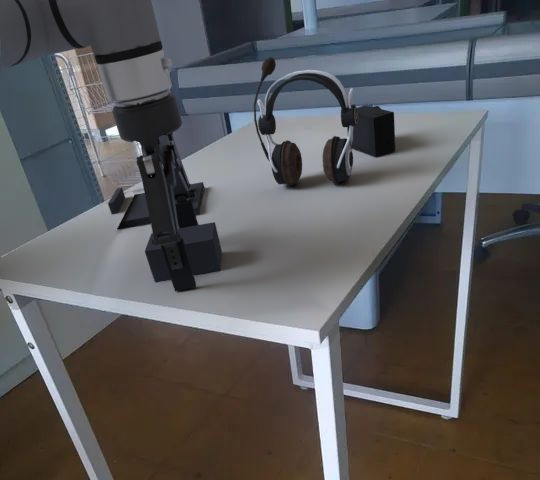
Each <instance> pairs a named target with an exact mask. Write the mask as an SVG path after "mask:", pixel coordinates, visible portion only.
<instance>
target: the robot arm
mask: <svg viewBox="0 0 540 480" xmlns="http://www.w3.org/2000/svg"><path fill="white" fill-rule="evenodd" d="M152 2H153V1H152V0H0V71H2V70H4V69H6V68H11V67H14V66H17V65H21V64H24V63H27V62H31V61H34V60H36V59H39V58H42V57H47V56H52V55H56V54H60V53H65V52H69V51H73V50H77V49H84V48H85V49H86V48H88V47H90V48H91V52H92V54H93V56H94V59H95V63H96V67H97V69H98V70H97V71H98V74H99V76H100V79H101V82H102V87H103V89H104V92H105V96H106V99H107V101H108V102H109V103H111V104H114V106H113V107H112V110H111V113H112V116H113V119H114V122H115V126H116V128H117V132H118V135H119V137H120V139H121V140H122V141H124V142H126V143H127V142H128V143H134V142H137V143H139V145H140V149H141V155H139V156H136V161H135V162H136V165H137V167H138V171H139V174H140V178H141V182H142V187H143V193H145V197H146V202H147V207H148V212H149V217H150V222H151V223H150V226H151V231H152V233H153V236H154V239H153V240H152V244H153V246H161V248H162V251H163V254H164V258H165V261H166V264H167V267H168V270H169V274H170V277H171V279H170V280H171V283H172V286H173V290H174V292H179V291H183V290H190V289H195V288H197V282H196V279H195V275H193V272H192V268H191V265H190V261H189V258H188V254H187V251H186V247H185V244H184V240H183V237H182V238H181V236H180V233H179V228H185V227H190V226H196V225H199V222H198V218H197V215H196V214H195V211H194V207H193V203H192V200H188V199H190V198H195V197H196V193H195V190H191V188H190V187H191V185H190V184H191V183H190V181H189V177H188V175H187V172H186V170H185V167H184V164H183V161H182V158H181V155H180V153H179V150H178V147H177V144H176V141H175V138H174V133H175V132H177V131H178V130H179V129H180V128H181V127H182V125H183V120H182V116H181V113H180V108H179V105H178V101H177V97H176V95H174V94H173V93H172V92H169V91H170V90H171V89H172V87H173V83H172V80H171V75H170V71H169V69H171V68H173V66H174V63H173V61H172V59H171V58H169V57H166V58H165V57H164V56H165V53H164V49H163V42H162V40H161V36H160V32H159V28H158V27H159V26H158V23H157V19H156V14H155V11H154V5H153V3H152ZM175 201H177V203H175ZM163 232H170V233H166V234H163Z"/></svg>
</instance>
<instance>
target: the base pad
mask: <svg viewBox="0 0 540 480" xmlns="http://www.w3.org/2000/svg"><path fill="white" fill-rule="evenodd" d="M190 185H191V187H190V188H191V190H195V193H196V197H195V198H190V199H188V200H192V203H193V207H194V211H195V214H196V216H199V215H200V214H201V208H202V202H203V198H204V193H205V185H204V182H203V181H199V182H196V183H190ZM125 200H126V196H125V192H124V189H123V187H117V188H116V190H114V192H113V194H112V196H111V197H110V200H108V202H107V205H108V208H109V211H110V214H111V215H117V214H118V213H119V212H120V209H121V207H122V206H123V203H124V202H125ZM175 203H177V201H175ZM144 225H151V222H150V217H149V212H148V207H147V202H146V197H145V192H141V193H136V194H134V195H133V196H132V198H131V201H130V202H129V204H128V206H127V209H126V210H125V213H124V214H123V216H122V218H121V220H120V222H119V224H118V225H117V228H116V230H122V229H127V228H132V227H139V226H144Z"/></svg>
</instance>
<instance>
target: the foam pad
mask: <svg viewBox="0 0 540 480" xmlns="http://www.w3.org/2000/svg"><path fill="white" fill-rule="evenodd" d="M166 233H170V232H163V234H166ZM179 233H180V236H181V238H182V237H183V240H184V244H185V247H186V251H187V254H188V258H189V261H190V265H191V268H192V272H193V275H194V276H197V275H203V274H209V273H214V272H221V268H222V257H223V249H222V245H221V242H220V238H219V237H220V236H219V233H218V229H217V224H216V222H215V221H213V222H208V223H202V224H198V225H196V226H190V227H185V228H179ZM153 239H154V236H153V232H152V233H150V236H149V239H148V242H147V245H146V246H145V250H144V254H145V258H146V259H147V262H148V263H147V264H148V266H149V269H150V272H151V275H152V279H153V281H154V283H157V282H162V281H167V280H171V277H170V274H169V270H168V267H167V264H166V261H165V258H164V254H163V251H162V248H161V246H153V244H152V240H153Z"/></svg>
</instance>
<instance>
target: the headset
mask: <svg viewBox="0 0 540 480" xmlns="http://www.w3.org/2000/svg"><path fill="white" fill-rule="evenodd" d="M276 66H277V64H276V60H275V59H274V57H271V56H269V57H267V58H265V59H264V61H263V62H262V65H261V77H260V81H259V85H258V87H257V89H256V93H255V97H254V101H253V121H254V126H255V131H256V134H257V137H258V139H259V141H260V146H261V148H262V151H263V153H264V155H265V157H266V159H267V161H268V162H269V163H270V167H271V172H272V176H273V178H274V180H275V183H277V185H286V186H287V188H288V187H289V188H290V187H293V186H294V185H296V184H297V183H299V181H300V180H301V179H300V178H301V176H302V173H303V157H302V152H301V150H300V148H299V147H298V145H297V144H296V142H291V140H288V139H287V140H284V141H282V142H281V143H277V142H276V141H274V140H273V138H272V135H275V133H276V131H277V130H276V129H277V123H276V122H277V121H276V117H275V115H274V114H273V112H274V105H275V103H276V100H277V97H278V95H279V94H280V92H281V91H282V90H283V88H284V87H285V86H286V85H288V84H290V83H293V82H295V81H310V82H315V83H316V84H319V85H321V86H323V87H324V88H326V89H327V90H328V91H329V92H330V93H331V94H332V95H333V96H334V97H335V99H336V100H337V102H338V103H339V106H340V122H341V127H342V128H347V127H349V134H348V133H347V138H346V137H344V138H341V137H340V136H338V135H337V136H336V135H333V136H332V138H329V139H327V141H326V142H325V144H324V147H323V150H322V169H323V174H324V176H325V178H326V179H327V180H328V182H331V183H333V184H334V185H338V184H339V183H340V182H341V181H348V180H349V179H350V177H351V176H352V171H353V167H354V166H353V165H354V154H353V149H352V148H351V144H352V140H353V127H354V126H356V124H357V122H358V110H357V107H358V106H357V105H356V104H354V103H353V102H354V101H353V93H354V88H353V87H351V88H350V90H349V92H348V96H347V92H346V89H345V87H344V85H343V84H342V82H341V81H340V80H339V78H338V77H336V76H335V75H333V74H331V73H330V72H327V71H323V70H317V69H305V70H298V71H293V72H289V73H287V74H285V75H284V76H281V77H280V78H278V79H276V80H275V81H274V82H273V83H272V84H271V85H269V88H268V89H267V92H266V94H265V97H264V102H263V101H262V99H260V98H259V99H258V97H259V93H260V90H261V87H262V84H263V82H265V80H266V78H267V77H268V76H271V75H272V74H273V73H274V72H275V70H276ZM286 78H288V79H286ZM284 79H285V81H284V82H282V83H281V84H280V85H278V86H277V87H276V88H275V89H274V91H273V92H272V93H271V91H272V89H273V88H274V86H275V85H277V84H278V82H280V81H281V80H284ZM270 94H271V95H270ZM257 105H258V107H259V112H260V115H259V117H258V121H257V107H256V106H257ZM261 135H262V136H264V139H265V140H266V144H267V147H266V145H265V142H264V141H263V139H262V136H261ZM349 141H350V142H349ZM271 145H274V148H273V150H272V152H271Z"/></svg>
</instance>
